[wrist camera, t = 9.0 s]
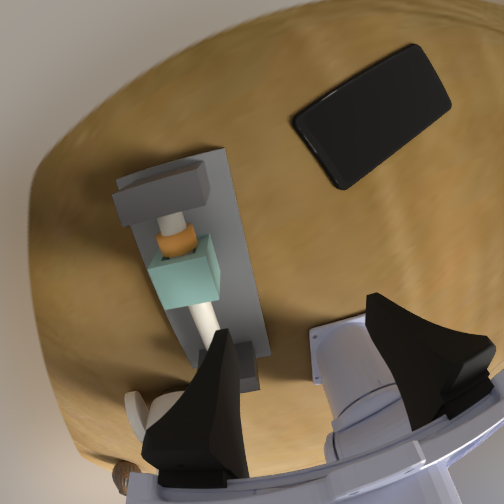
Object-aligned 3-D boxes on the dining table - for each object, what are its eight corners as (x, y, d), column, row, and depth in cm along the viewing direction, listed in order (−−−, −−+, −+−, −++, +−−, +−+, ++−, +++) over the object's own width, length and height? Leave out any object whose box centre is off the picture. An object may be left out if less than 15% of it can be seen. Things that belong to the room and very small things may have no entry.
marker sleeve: (220, 271, 19) (219, 299, 16) (173, 280, 20) (164, 309, 16) (209, 232, 18) (205, 256, 15) (160, 244, 18) (147, 269, 15)
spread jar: (239, 410, 31) (245, 489, 21) (174, 427, 33) (169, 494, 22) (181, 361, 26) (170, 460, 16) (115, 385, 28) (93, 462, 17)
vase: (143, 471, 43) (140, 500, 35) (115, 463, 42) (110, 492, 34) (144, 464, 41) (140, 496, 33) (113, 455, 39) (108, 487, 31)
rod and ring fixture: (270, 346, 26) (278, 389, 21) (193, 359, 26) (190, 402, 21) (224, 147, 18) (223, 152, 13) (121, 176, 18) (88, 194, 13)
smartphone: (289, 119, 17) (418, 41, 14) (286, 120, 18) (413, 43, 15) (342, 194, 20) (454, 107, 16) (338, 192, 20) (449, 106, 17)
